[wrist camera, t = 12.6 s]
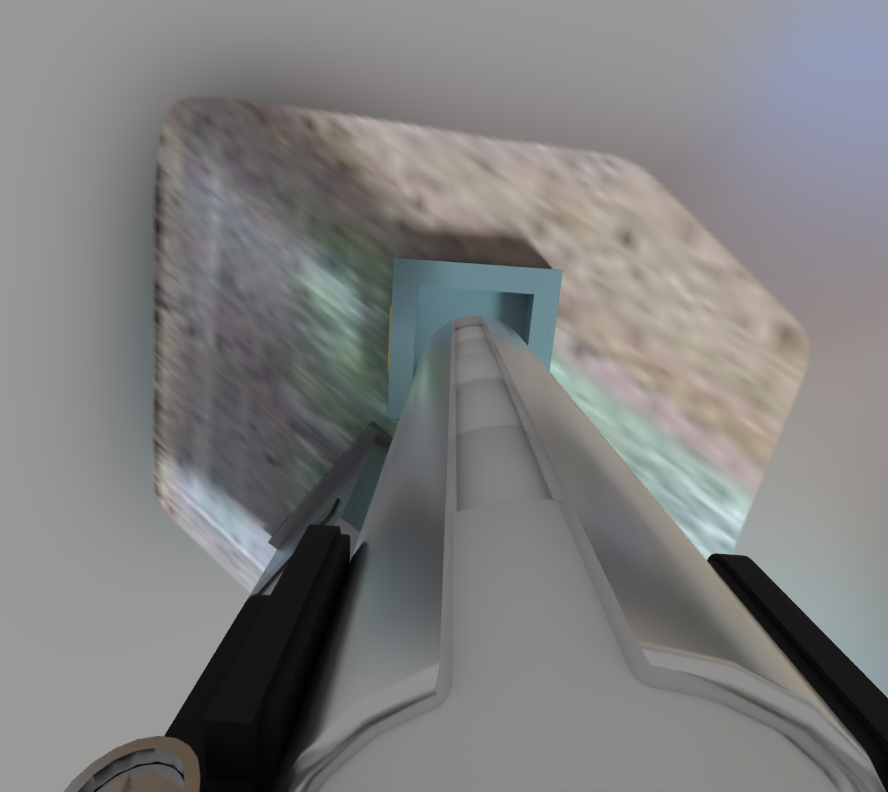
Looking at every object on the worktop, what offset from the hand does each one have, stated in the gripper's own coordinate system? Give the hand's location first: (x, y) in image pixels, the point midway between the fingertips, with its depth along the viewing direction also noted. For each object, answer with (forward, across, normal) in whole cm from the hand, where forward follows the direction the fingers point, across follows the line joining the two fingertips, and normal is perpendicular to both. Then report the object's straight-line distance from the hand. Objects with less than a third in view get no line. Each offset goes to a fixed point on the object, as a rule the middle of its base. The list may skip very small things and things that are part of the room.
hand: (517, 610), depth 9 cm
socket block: (+31, 0, 0) cm, 31 cm away
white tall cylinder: (+20, 0, 0) cm, 20 cm away
